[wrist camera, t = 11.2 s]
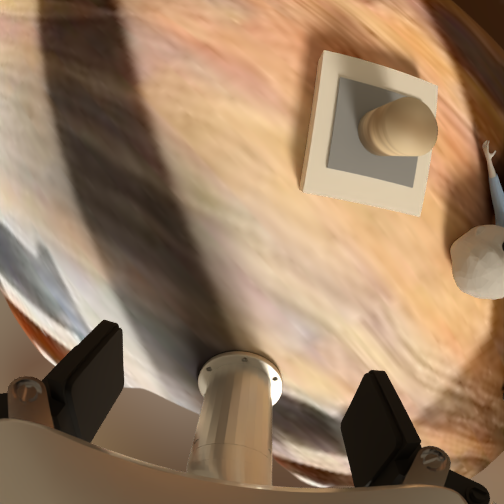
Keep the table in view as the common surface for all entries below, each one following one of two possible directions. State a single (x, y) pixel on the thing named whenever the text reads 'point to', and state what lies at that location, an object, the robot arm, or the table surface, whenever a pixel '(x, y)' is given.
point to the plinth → (347, 140)
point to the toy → (482, 249)
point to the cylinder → (399, 129)
